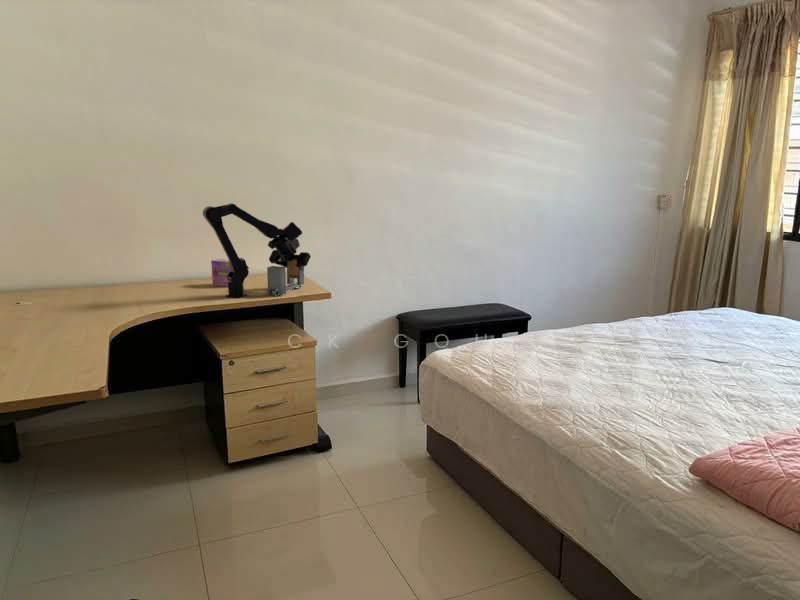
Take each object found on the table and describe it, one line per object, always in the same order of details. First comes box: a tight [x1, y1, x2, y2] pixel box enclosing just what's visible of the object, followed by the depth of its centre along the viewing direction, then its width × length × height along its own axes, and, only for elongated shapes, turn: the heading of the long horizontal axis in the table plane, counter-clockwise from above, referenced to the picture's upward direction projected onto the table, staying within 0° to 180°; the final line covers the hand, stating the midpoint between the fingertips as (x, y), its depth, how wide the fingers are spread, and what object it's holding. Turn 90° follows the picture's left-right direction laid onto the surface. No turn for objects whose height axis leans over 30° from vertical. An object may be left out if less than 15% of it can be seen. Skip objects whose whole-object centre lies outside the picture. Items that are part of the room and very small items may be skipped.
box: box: [210, 258, 231, 287], centre depth 274 cm, size 10×6×12 cm, turn 73°
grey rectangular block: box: [286, 260, 305, 285], centre depth 271 cm, size 4×6×12 cm
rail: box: [271, 281, 304, 296], centre depth 266 cm, size 24×2×2 cm, turn 161°
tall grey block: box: [266, 265, 287, 296], centre depth 256 cm, size 4×6×12 cm
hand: (297, 269), depth 272 cm, fingers closed on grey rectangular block, 6 cm apart
